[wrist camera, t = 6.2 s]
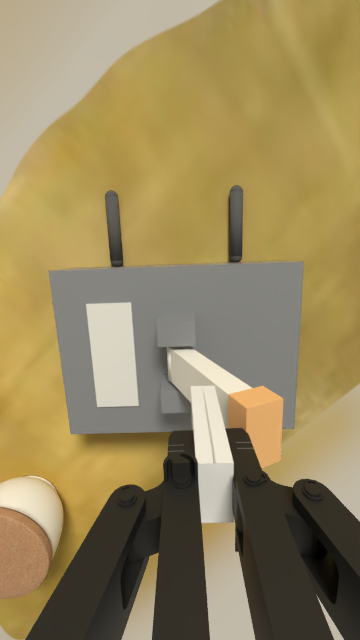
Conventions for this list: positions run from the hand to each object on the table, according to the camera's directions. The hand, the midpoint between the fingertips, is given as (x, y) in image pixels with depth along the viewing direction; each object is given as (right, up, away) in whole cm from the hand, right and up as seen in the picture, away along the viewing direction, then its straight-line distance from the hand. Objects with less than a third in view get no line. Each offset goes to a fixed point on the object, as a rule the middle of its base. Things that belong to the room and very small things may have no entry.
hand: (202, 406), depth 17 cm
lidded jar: (-20, -17, +19) cm, 32 cm away
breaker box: (-1, +3, +14) cm, 15 cm away
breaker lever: (-2, +2, +7) cm, 8 cm away
